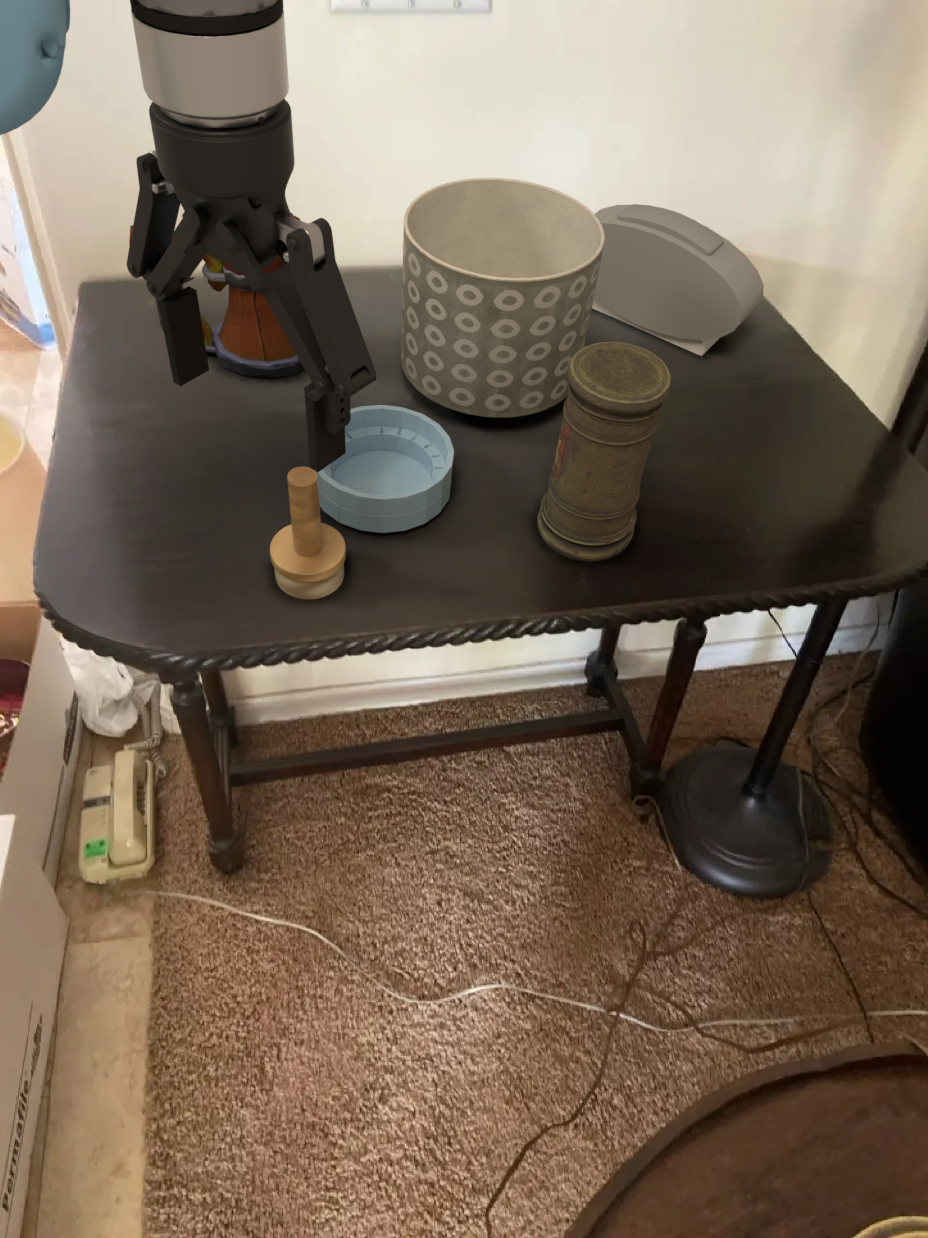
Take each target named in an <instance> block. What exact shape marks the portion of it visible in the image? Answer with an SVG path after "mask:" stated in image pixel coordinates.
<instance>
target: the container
mask: <svg viewBox="0 0 928 1238" xmlns="http://www.w3.org/2000/svg"><path fill="white" fill-rule="evenodd" d="M567 375H568V380H569V382H568V389H569V394H568V396H567V397H566V398H565V399H566V400H565V401H564V403H563V415H562V419H561V420H562V421H561V425H560V429H559V435H558V442H557V447H556V452H555V455H554V459H553V460H554V462H553V467H552V471H551V473H550V475H549V478H548V490H547V491H546V493H544V496H543V497H542V499H541V503H540V508H539V511H538V513H537V520H536V521H537V523H536V524H537V529H538V533H539V535H540V537H541V539H542V540H543V542H544V543H545V545H546V546H548V547H549V548H550V549H551V550H553V552H556V554H559V555H561V556H563V557H565V558H568V559H571V560H574V561H580V562H589V563H590V562H601V561H606V560H609V559H612V558H614V557H616V556H618V555H620V554H621V553H622V552H624V550H625V549H626V548H627V547H628V546H629V544H630V543H631V541H632V539H633V537H634V533H635V525H636V522H637V509H636V506H637V503H638V501H639V499H640V495H641V494H640V493H641V483H642V479H643V474H644V470H645V466H646V464H647V460H648V455H649V452H650V449H651V445H652V442H653V437H654V434H655V431H656V429H657V428H658V424H659V412H660V410H661V408H662V407H663V406H664V402H665V401H666V399H667V398H668V397H669V395H670V393H671V388H672V377H671V373H670V371H669V369H668V366H667V365H666V363H665V362H664V361H663V360H662V359H661V358H660V357H659V356H657V354H656V353H653V352H651V351H650V350H648V349H646V348H644V347H642V346H638V345H635V344H632V343H628V342H621V341H620V342H619V341H602V342H601V341H600V342H595V343H593V344H589V345H585V347H584V348H582V349H581V350H579V351H578V352H577V353H576V354H575V355H574V356H573V357H572V359H571V361H570V363H569V365H568V370H567Z"/></svg>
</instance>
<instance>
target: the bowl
mask: <svg viewBox="0 0 928 1238" xmlns="http://www.w3.org/2000/svg"><path fill="white" fill-rule="evenodd" d="M350 414H351V420H350V422H349V424H348V425H347V426H345V447H346V453H345V454H344V455H342V456H341V457H340V458H338V459H337V460H335V461H334V462H332V463H331V464H329V465H328V466H327V467H325V468H324V469H322V470H321V471H319V472H317V474H318V487H319V503H320V509H321V510H322V511H323V512H324V513H325V514H326V515H328V516H329V517H330V518H332V519H333V520H335V521H336V522H338V523H339V524H341V525H344V526H347V527H350V528H353V529H355V530H358V531H362V532H370V533H379V534H387V533H396V532H405V531H407V530H411V529H414V528H417V527H419V526H422V525H425V524H427V523H428V522H430V521H431V520H432V519H433V518H435V517H436V516H438V515H440V513H441V512H442V510H443V509H444V508H445V506H446V505H447V503H448V502H449V500H450V498H451V492H452V486H453V485H452V484H453V474H454V463H455V462H454V461H455V449H454V446H453V443H452V439H451V437H450V435H449V434H448V433H447V432H446V430H444V428H443V427H442V426H441V425H440V423H438V422H436V421H435V420H434V419H432V418H430V417H429V416H427V415H425V414H424V413H422V412H418V411H416V410H413V409H409V408H407V407H404V406H396V405H388V404H374V405H373V404H372V405H361V406H357V407H353V408H350Z"/></svg>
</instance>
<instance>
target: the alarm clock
mask: <svg viewBox="0 0 928 1238" xmlns="http://www.w3.org/2000/svg"><path fill="white" fill-rule="evenodd" d="M594 214H595V215H596V217H597V218H598V219H599V221H600V223H601V224H602V227H603V230H604V234H605V242H604V247H603V252H602V258H601V263H600V268H599V273H598V279H597V284H596V289H595V294H594V300H593V305H592V309H593V310H595V311H597V312H599V313H601V314H605V315H606V316H609V317H611V318H613V319H616V320H618V321H620V322H622V323H624V324H627V325H630V326H631V327H633V328H636V329H638V330H641V331H643V332H645V333H648V334H650V335H652V336H653V337H657V338H659V339H661V340H664V341H666V342H668V343H671V344H673V345H675V346H677V347H680V348H682V349H683V350H687V351H689V352H691V353H693V354H695V355H698V356H700V357H702V356H703V355H704V354H706V352H708V351H709V349H711V347H712V346H714V345H715V343H716V342H717V341H718V340H719V339H721V338H723V337H725V336H727V335H730V334H731V333H733V332H735V331H736V330H737V328H738V327H739V326H741V325H742V324H743V323H744V322H745V320H747V319H748V318H749V317H750V316H751V315H752V314H753V313H754V312H755V310H757V308H758V307H759V305H760V304H761V303H762V301H763V300H764V288H765V286H764V283H763V280H762V278H761V276H760V273H759V271H758V269H757V268H756V267H755V265H754V264H753V263H752V261H751V260H750V259H749V258H748V256H747V255H746V254H745V253H743V251H741V250H740V249H739V248H738V247H736V246H735V244H733V243H732V242H731V241H730V240H729V239H727V238H725V237H724V236H722V235H721V234H719V233H717V232H716V231H715V230H713V229H711V228H710V227H708V226H706V225H704V224H702V223H700V222H698V221H697V220H695V219H693V218H691V217H689V216H687V215H685V214H682V213H680V212H677V211H674V210H670V209H668V208H664V207H661V206H654V205H651V204H650V205H649V204H636V203H633V204H615V205H611V206H608V207H607V206H606V207H603V208H601V209H599V210H598V211H596V212H594Z"/></svg>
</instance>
